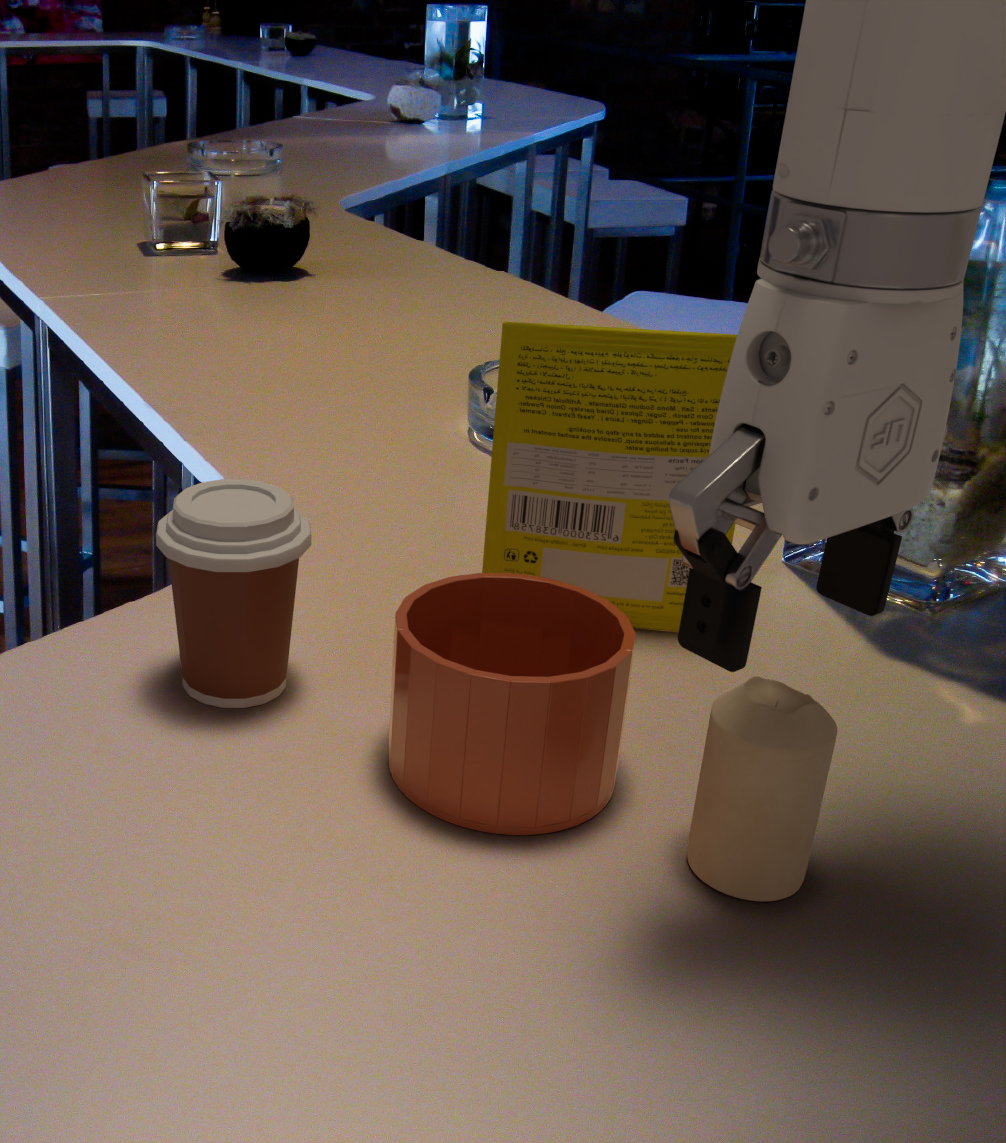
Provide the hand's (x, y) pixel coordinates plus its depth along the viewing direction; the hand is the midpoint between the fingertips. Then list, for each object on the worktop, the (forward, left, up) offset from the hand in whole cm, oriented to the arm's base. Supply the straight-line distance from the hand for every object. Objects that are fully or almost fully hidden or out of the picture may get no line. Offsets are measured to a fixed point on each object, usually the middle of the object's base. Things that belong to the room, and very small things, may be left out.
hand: (781, 629), depth 60 cm
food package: (-13, -22, -13) cm, 29 cm away
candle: (0, 0, -13) cm, 13 cm away
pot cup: (+4, -13, -13) cm, 19 cm away
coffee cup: (+11, -29, -13) cm, 34 cm away
